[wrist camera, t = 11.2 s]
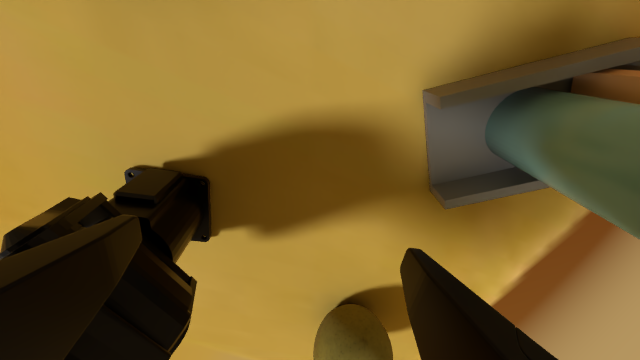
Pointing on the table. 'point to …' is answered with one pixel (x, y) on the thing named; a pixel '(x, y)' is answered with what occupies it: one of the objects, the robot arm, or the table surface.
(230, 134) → the table surface
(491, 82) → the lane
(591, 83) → the plate
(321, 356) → the apple
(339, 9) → the table surface
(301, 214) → the table surface
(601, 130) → the jar
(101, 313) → the robot arm
